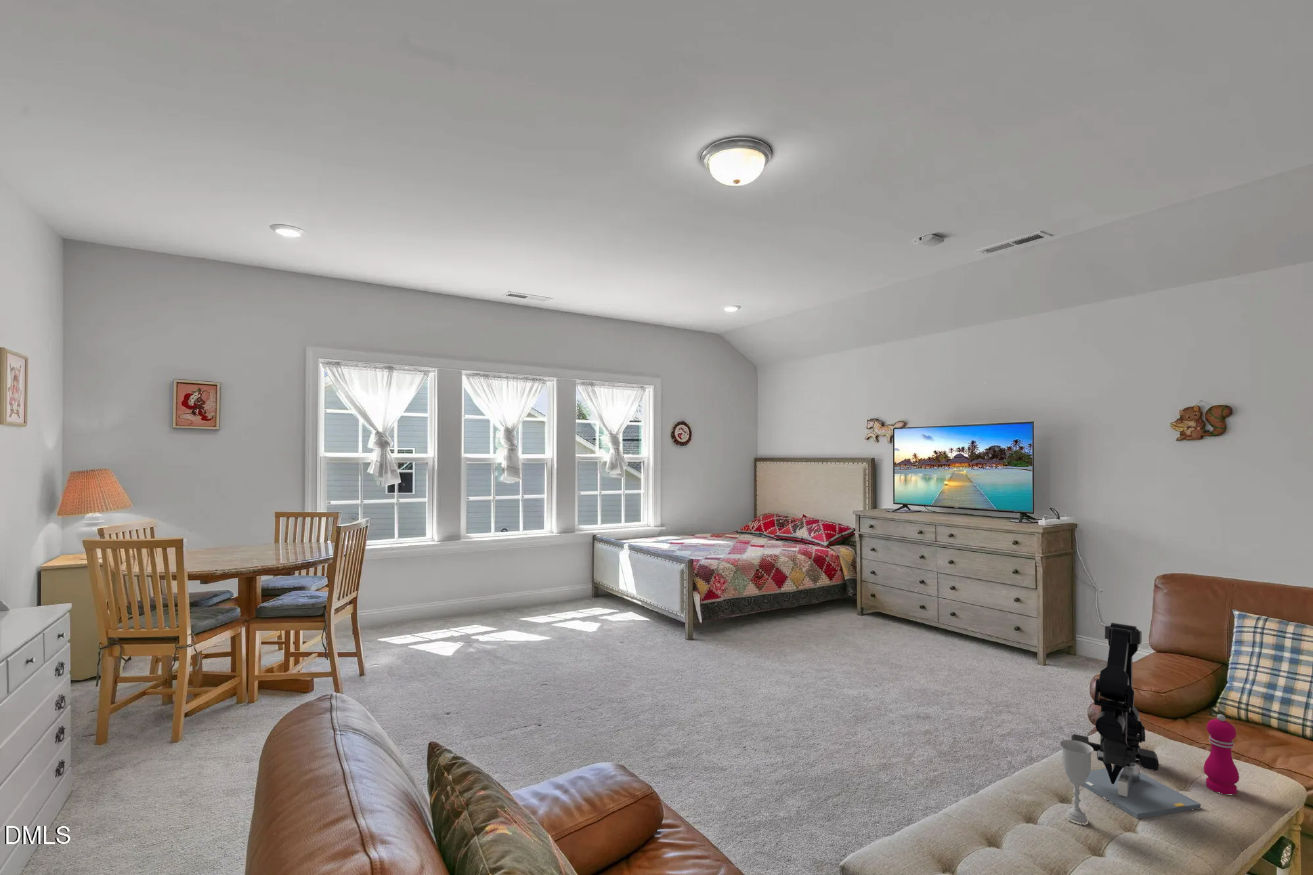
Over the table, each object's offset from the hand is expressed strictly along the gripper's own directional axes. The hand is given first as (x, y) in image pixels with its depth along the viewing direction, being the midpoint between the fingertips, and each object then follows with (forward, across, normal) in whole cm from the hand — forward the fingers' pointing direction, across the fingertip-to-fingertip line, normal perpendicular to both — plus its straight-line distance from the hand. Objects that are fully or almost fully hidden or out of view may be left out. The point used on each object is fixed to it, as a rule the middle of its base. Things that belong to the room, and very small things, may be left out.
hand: (1112, 783), depth 172 cm
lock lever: (+1, +3, +4) cm, 5 cm away
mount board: (+3, +4, +3) cm, 6 cm away
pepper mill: (+3, +25, +18) cm, 31 cm away
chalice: (+2, -8, -20) cm, 21 cm away
